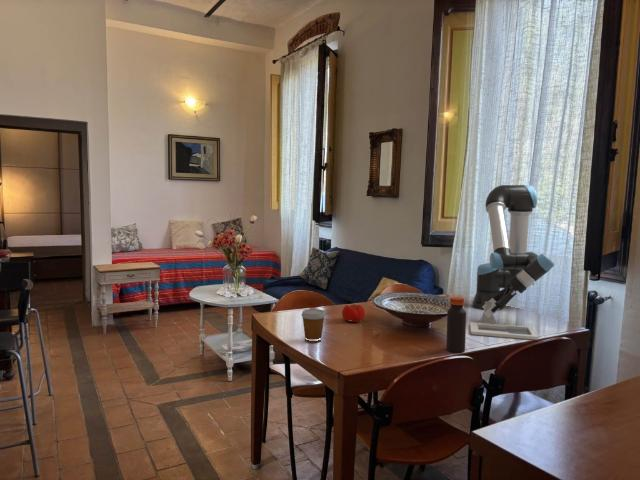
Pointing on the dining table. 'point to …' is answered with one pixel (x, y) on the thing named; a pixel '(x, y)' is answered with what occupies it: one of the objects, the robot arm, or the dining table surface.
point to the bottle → (456, 326)
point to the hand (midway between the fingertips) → (484, 312)
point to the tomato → (353, 313)
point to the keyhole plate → (503, 331)
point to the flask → (484, 317)
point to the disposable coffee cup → (313, 324)
